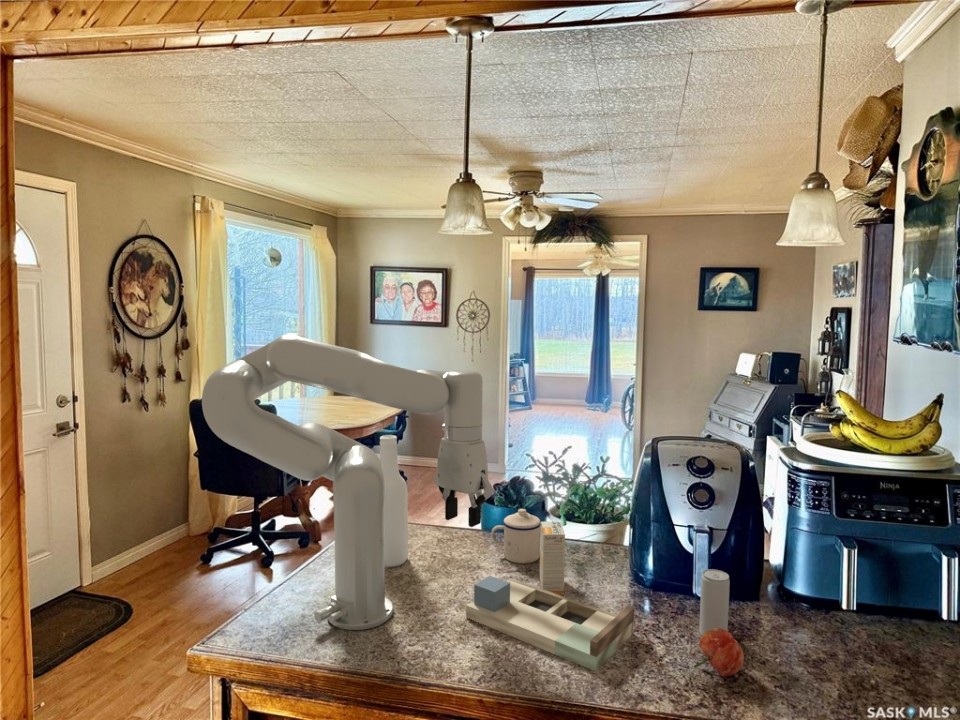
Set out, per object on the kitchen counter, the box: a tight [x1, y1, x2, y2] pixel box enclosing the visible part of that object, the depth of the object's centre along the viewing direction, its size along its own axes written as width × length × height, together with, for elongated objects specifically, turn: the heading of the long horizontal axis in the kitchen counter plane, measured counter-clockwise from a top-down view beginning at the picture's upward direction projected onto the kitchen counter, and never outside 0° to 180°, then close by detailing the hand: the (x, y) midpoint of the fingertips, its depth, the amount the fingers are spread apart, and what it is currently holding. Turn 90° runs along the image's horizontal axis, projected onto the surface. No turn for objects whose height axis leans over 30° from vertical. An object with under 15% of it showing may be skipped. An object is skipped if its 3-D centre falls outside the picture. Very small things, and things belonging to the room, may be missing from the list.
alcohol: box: [378, 434, 409, 568], centre depth 143 cm, size 9×9×30 cm
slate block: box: [473, 575, 510, 612], centre depth 119 cm, size 5×5×4 cm
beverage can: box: [699, 568, 731, 637], centre depth 111 cm, size 5×5×12 cm
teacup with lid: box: [491, 508, 542, 564], centre depth 147 cm, size 12×9×12 cm
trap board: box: [465, 577, 635, 672], centre depth 115 cm, size 15×28×5 cm, turn 52°
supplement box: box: [539, 521, 566, 595], centre depth 131 cm, size 8×5×13 cm, turn 179°
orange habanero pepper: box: [693, 628, 747, 678], centre depth 101 cm, size 7×7×10 cm
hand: (462, 520), depth 122 cm, fingers open, 5 cm apart
